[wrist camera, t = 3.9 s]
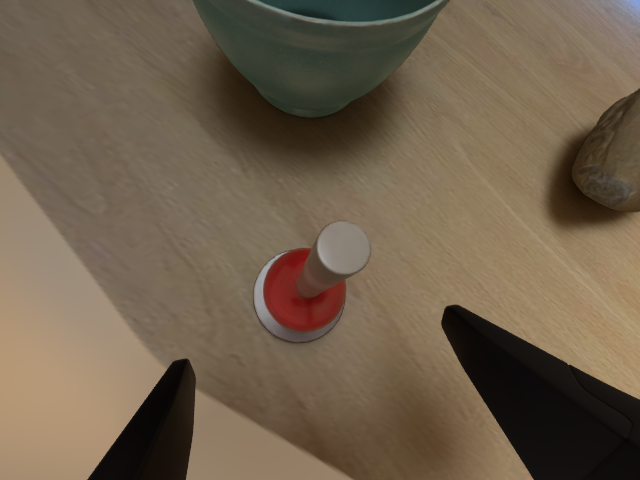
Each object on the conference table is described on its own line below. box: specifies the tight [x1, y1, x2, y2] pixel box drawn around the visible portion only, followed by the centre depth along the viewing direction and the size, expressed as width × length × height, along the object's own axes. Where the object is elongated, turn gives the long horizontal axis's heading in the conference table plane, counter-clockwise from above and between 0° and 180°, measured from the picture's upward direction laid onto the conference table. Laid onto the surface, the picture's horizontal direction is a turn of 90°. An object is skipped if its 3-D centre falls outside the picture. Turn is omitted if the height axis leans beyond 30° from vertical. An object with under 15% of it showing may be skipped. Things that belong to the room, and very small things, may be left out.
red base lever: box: [253, 221, 371, 343], centre depth 13 cm, size 6×6×14 cm
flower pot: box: [193, 0, 449, 117], centre depth 19 cm, size 16×16×11 cm
